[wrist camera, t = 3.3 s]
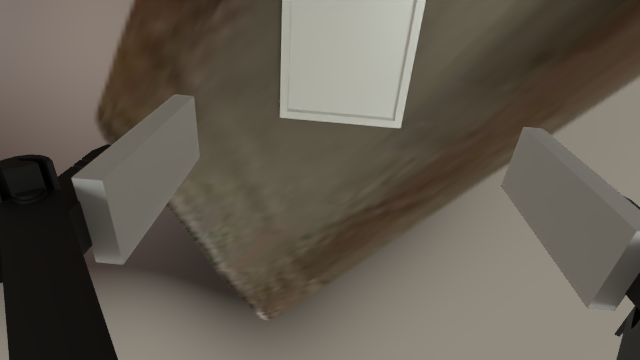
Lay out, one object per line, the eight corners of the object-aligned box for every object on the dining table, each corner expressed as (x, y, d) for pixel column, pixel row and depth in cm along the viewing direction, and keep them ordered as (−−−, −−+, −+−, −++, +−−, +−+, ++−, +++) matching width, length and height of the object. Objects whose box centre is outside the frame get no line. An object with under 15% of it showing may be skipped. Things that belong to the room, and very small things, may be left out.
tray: (286, -82, 34) (283, -84, 33) (436, -69, 34) (439, -70, 33) (281, 112, 44) (279, 117, 42) (398, 123, 44) (400, 128, 42)
